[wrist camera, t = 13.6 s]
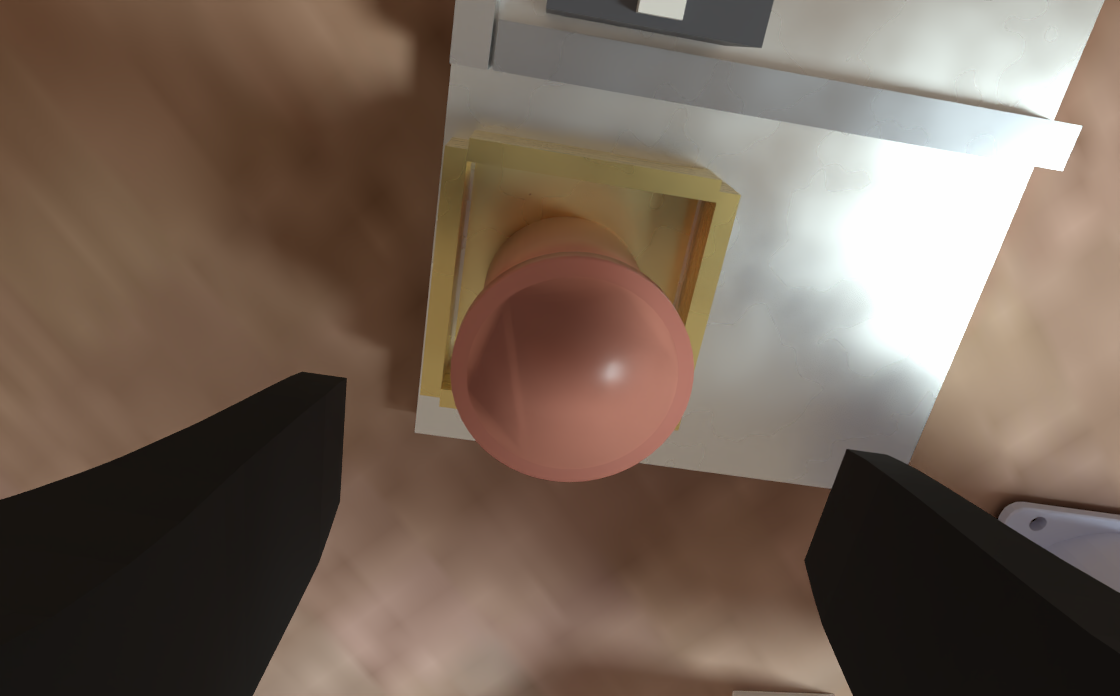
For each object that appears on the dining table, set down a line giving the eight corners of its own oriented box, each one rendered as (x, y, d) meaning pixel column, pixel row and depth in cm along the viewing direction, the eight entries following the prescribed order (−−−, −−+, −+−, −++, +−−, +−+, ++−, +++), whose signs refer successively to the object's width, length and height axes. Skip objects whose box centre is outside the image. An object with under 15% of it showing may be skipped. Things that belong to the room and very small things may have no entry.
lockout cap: (671, 220, 18) (720, 280, 13) (633, 388, 19) (665, 494, 15) (484, 190, 17) (464, 241, 13) (462, 365, 19) (438, 466, 14)
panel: (1174, -248, 15) (1284, -297, 13) (880, 478, 22) (917, 527, 20) (504, -403, 14) (495, -485, 12) (420, 415, 21) (405, 460, 19)
